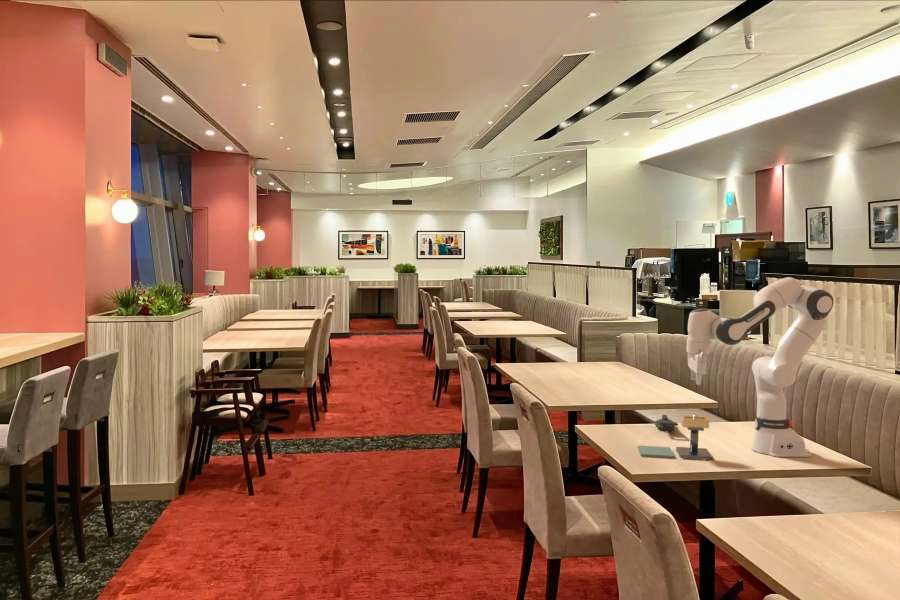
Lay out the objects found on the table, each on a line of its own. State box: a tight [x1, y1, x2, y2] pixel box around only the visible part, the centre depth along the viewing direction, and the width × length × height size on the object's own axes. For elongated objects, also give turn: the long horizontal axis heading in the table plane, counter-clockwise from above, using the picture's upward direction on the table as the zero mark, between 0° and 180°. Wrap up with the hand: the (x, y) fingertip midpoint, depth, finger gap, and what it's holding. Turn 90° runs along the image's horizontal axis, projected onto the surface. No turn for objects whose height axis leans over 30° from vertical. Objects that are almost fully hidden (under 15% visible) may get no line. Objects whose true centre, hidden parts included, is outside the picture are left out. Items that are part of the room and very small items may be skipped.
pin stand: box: [675, 414, 713, 461], centre depth 277 cm, size 12×12×16 cm
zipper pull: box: [654, 414, 679, 433], centre depth 318 cm, size 9×7×25 cm
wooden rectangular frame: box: [680, 415, 710, 429], centre depth 277 cm, size 10×5×4 cm, turn 80°
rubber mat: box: [637, 445, 676, 459], centre depth 280 cm, size 13×13×1 cm
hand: (696, 382), depth 276 cm, fingers open, 8 cm apart
